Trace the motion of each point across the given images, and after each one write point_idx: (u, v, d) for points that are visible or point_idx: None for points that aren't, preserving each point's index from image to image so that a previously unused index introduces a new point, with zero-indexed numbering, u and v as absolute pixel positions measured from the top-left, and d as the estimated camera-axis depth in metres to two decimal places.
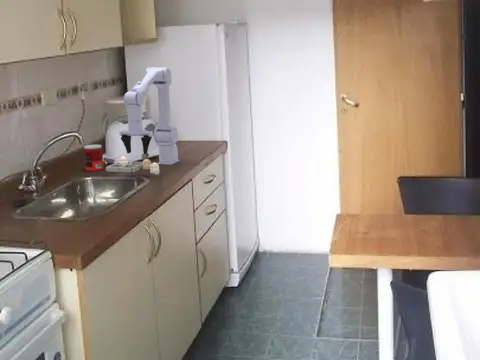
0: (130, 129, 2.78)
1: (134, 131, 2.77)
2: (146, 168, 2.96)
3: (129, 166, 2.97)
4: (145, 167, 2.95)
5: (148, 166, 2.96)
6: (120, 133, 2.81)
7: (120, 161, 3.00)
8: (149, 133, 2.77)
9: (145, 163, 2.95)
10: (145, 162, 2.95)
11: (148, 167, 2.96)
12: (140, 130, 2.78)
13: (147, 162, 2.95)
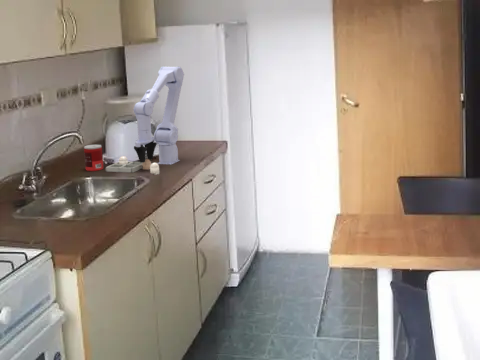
0: None
1: None
2: (146, 168, 2.96)
3: (129, 166, 2.97)
4: (145, 167, 2.95)
5: (148, 166, 2.96)
6: None
7: (120, 161, 3.00)
8: None
9: (145, 163, 2.95)
10: (145, 162, 2.95)
11: (148, 167, 2.96)
12: (140, 139, 2.92)
13: (147, 162, 2.95)
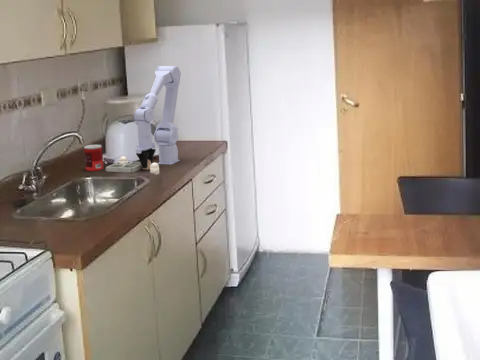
0: None
1: (138, 145, 2.95)
2: (146, 168, 2.96)
3: (129, 166, 2.97)
4: None
5: (148, 166, 2.96)
6: None
7: (120, 161, 3.00)
8: None
9: None
10: None
11: (148, 167, 2.96)
12: (140, 145, 2.93)
13: None
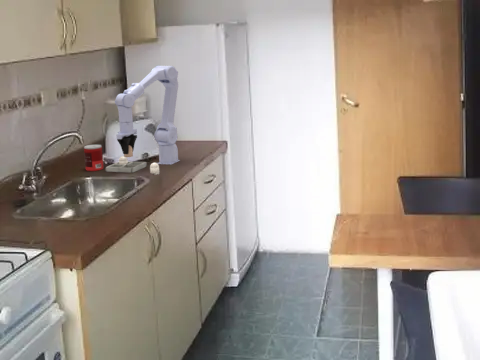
0: None
1: None
2: (127, 154, 2.91)
3: (129, 166, 2.97)
4: None
5: (129, 152, 2.91)
6: None
7: (120, 161, 3.00)
8: None
9: None
10: None
11: (129, 153, 2.91)
12: (121, 131, 2.89)
13: None
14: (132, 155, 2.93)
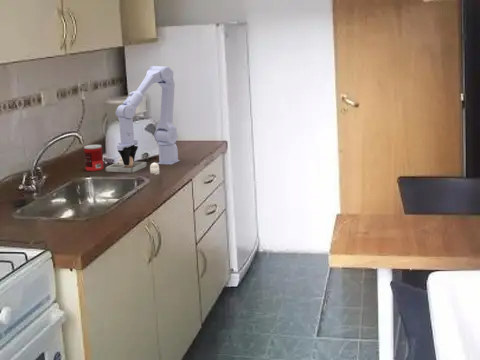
0: None
1: None
2: (128, 165, 2.92)
3: None
4: None
5: (130, 163, 2.92)
6: None
7: (120, 161, 3.00)
8: None
9: None
10: None
11: (130, 164, 2.92)
12: (122, 142, 2.90)
13: (129, 159, 2.92)
14: (133, 166, 2.94)
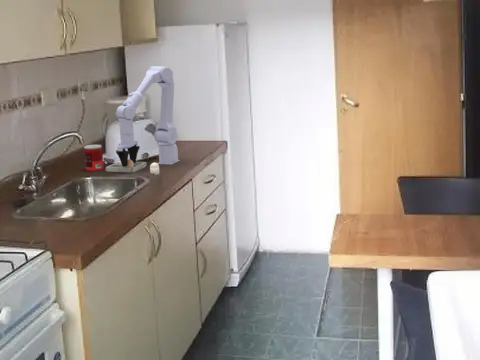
0: None
1: None
2: None
3: None
4: (128, 167, 2.93)
5: (130, 166, 2.93)
6: None
7: (120, 161, 3.00)
8: None
9: None
10: None
11: (130, 167, 2.93)
12: (122, 143, 2.90)
13: (129, 162, 2.92)
14: None
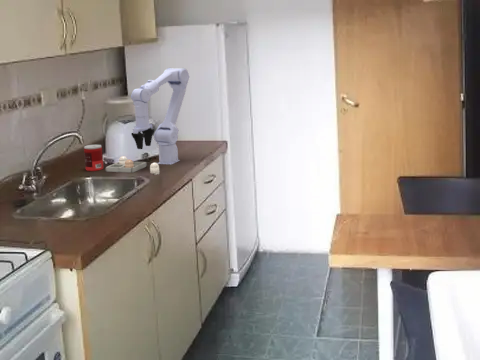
0: None
1: (136, 125, 2.94)
2: None
3: None
4: (128, 167, 2.93)
5: (130, 166, 2.93)
6: None
7: (120, 161, 3.00)
8: None
9: (127, 163, 2.92)
10: (127, 162, 2.92)
11: (130, 167, 2.93)
12: (137, 126, 2.92)
13: (129, 162, 2.92)
14: None
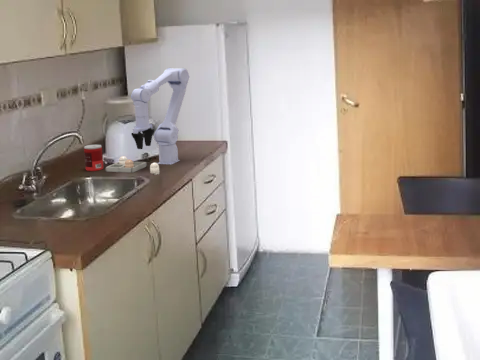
0: None
1: (136, 125, 2.94)
2: None
3: None
4: (128, 167, 2.93)
5: (130, 166, 2.93)
6: None
7: (120, 161, 3.00)
8: None
9: (127, 163, 2.92)
10: (127, 162, 2.92)
11: (130, 167, 2.93)
12: (137, 126, 2.92)
13: (129, 162, 2.92)
14: None
